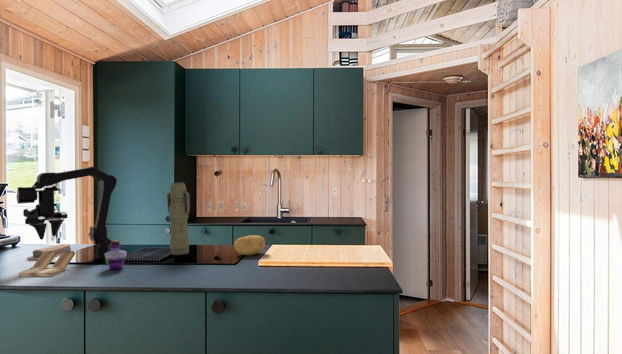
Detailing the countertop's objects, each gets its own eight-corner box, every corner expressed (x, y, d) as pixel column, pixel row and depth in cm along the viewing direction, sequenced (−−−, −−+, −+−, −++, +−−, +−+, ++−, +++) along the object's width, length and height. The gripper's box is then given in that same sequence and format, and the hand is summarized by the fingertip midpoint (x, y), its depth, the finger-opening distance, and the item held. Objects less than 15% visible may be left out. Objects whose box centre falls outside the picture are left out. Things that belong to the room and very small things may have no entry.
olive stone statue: (173, 250, 209) (171, 182, 208) (194, 251, 207) (193, 182, 205) (163, 254, 200) (162, 183, 199) (186, 255, 198) (184, 182, 197)
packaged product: (58, 243, 211) (74, 243, 208) (58, 252, 211) (74, 253, 209) (26, 250, 193) (43, 251, 191) (26, 260, 193) (43, 261, 191)
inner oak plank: (75, 253, 179) (74, 251, 178) (64, 270, 172) (63, 267, 171) (64, 253, 179) (63, 251, 178) (53, 270, 172) (51, 267, 171)
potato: (263, 256, 193) (263, 236, 193) (233, 257, 193) (232, 237, 193) (266, 252, 203) (266, 233, 203) (237, 252, 204) (237, 233, 203)
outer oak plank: (56, 253, 179) (55, 251, 179) (45, 270, 172) (43, 267, 171) (45, 253, 180) (44, 251, 179) (33, 270, 172) (32, 267, 172)
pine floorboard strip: (64, 271, 171) (63, 267, 171) (52, 276, 164) (52, 271, 164) (31, 271, 171) (31, 267, 171) (18, 276, 164) (18, 271, 164)
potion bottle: (99, 270, 172) (99, 242, 172) (116, 265, 180) (115, 238, 180) (115, 272, 169) (114, 243, 168) (131, 267, 177) (130, 239, 176)
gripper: (44, 199, 187) (45, 234, 188) (11, 204, 168) (13, 242, 169) (67, 199, 186) (68, 233, 187) (37, 204, 168) (39, 241, 168)
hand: (48, 237), depth 178 cm, fingers open, 7 cm apart
